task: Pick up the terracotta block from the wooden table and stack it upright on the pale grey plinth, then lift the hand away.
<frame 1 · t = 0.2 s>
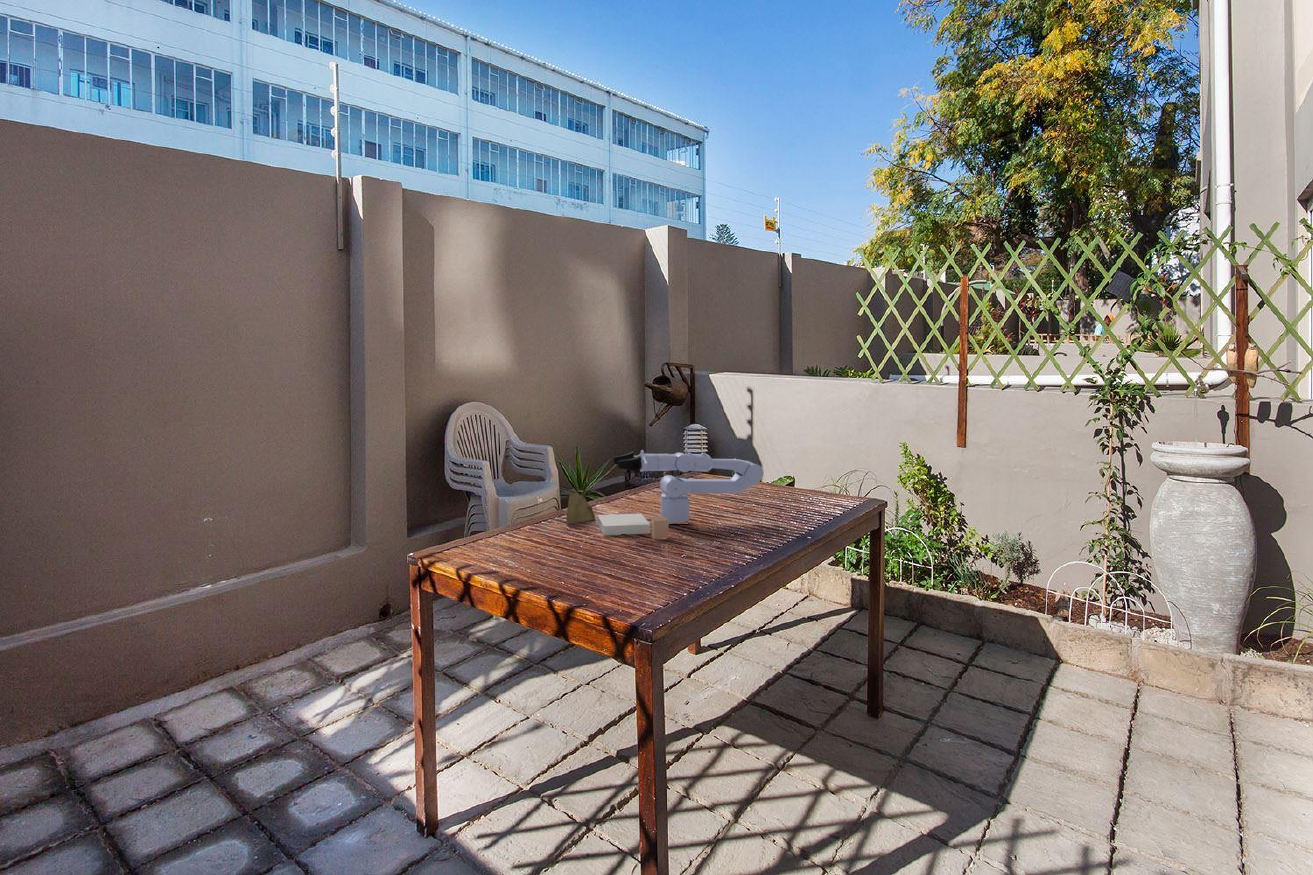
hand: (615, 462, 241), 21 cm above the table, tool horizontal, fingers open, 7 cm apart
base plinth: (623, 528, 240), on the table
rock: (580, 521, 249), on the table
terracotta block: (659, 537, 229), on the table
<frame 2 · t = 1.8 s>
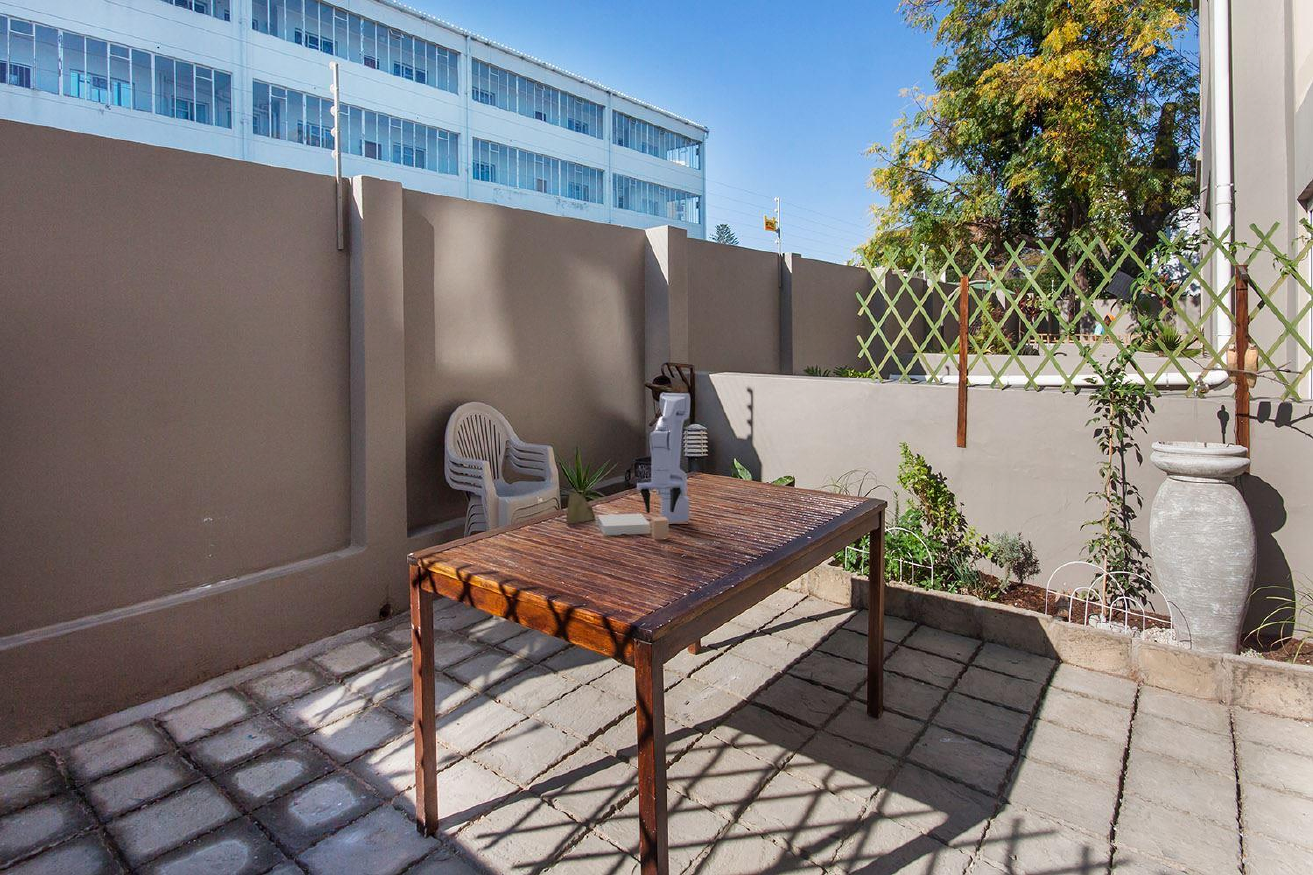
hand: (660, 512, 228), 8 cm above the table, tool pointing down, fingers open, 7 cm apart
nothing on the table moved.
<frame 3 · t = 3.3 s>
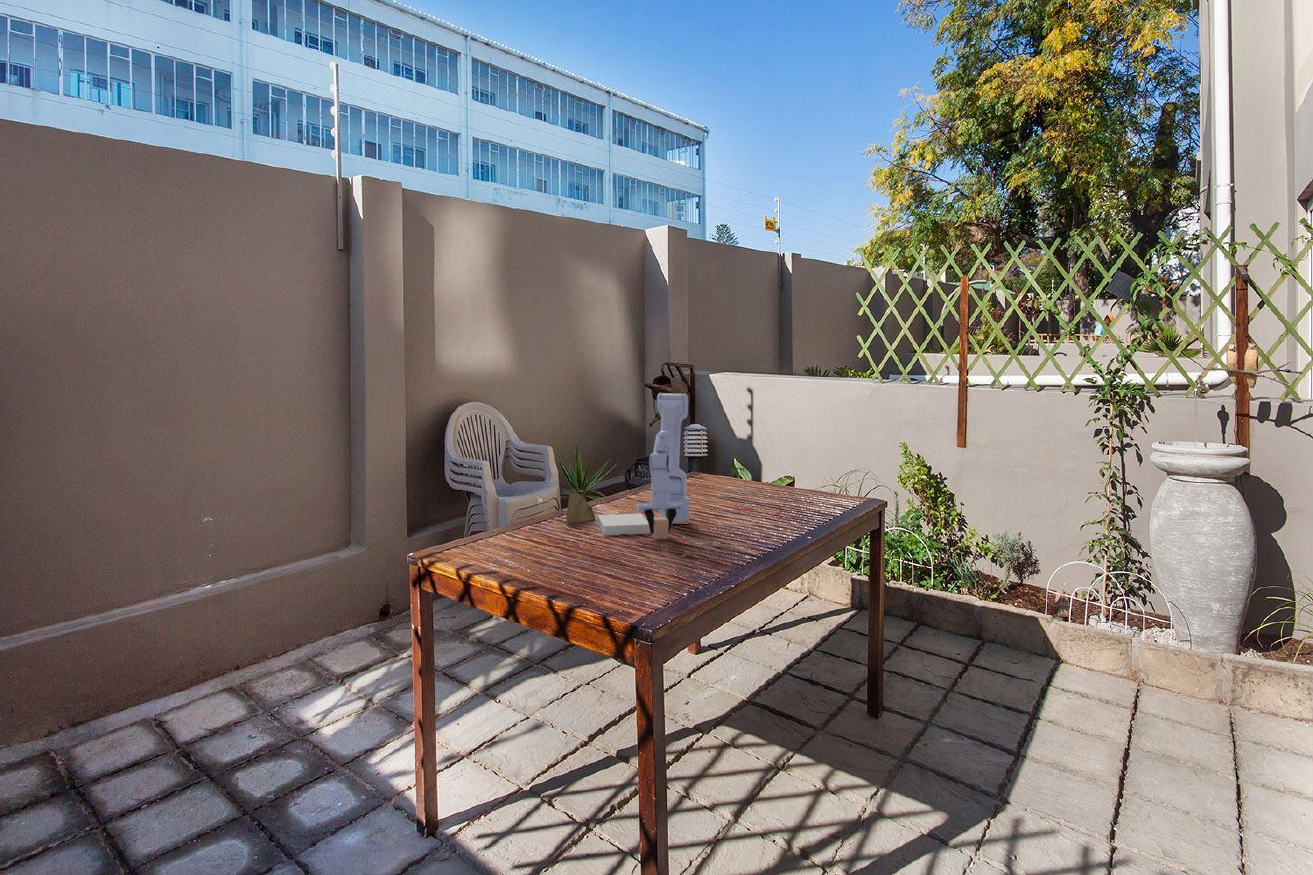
hand: (659, 532, 229), 1 cm above the table, tool pointing down, fingers closed on terracotta block, 4 cm apart
terracotta block: (659, 537, 229), on the table, touching gripper
everything else where it was.
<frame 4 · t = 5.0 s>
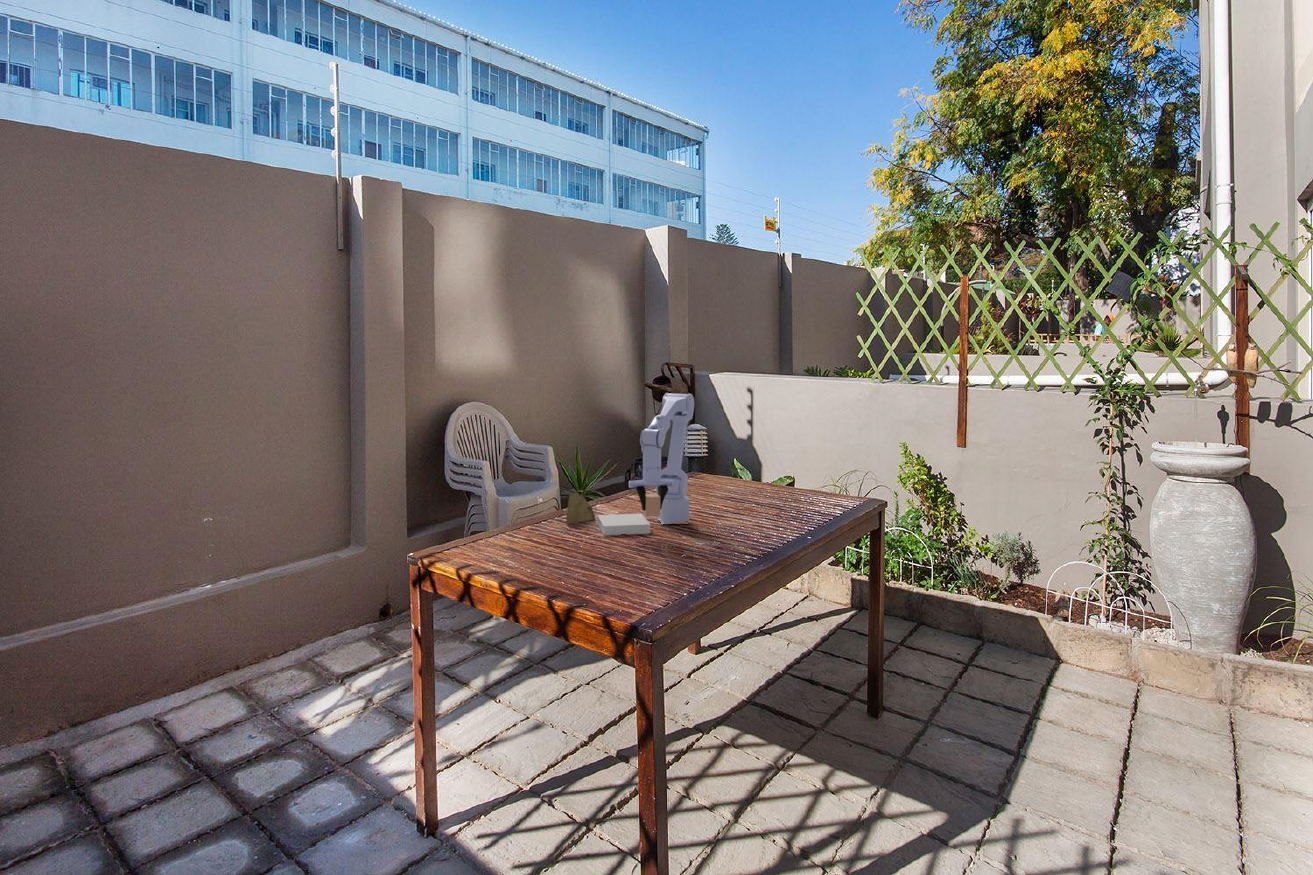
hand: (651, 509, 231), 8 cm above the table, tool pointing down, fingers closed on terracotta block, 4 cm apart
terracotta block: (651, 514, 231), point 7 cm above the table, touching gripper
everything else where it was.
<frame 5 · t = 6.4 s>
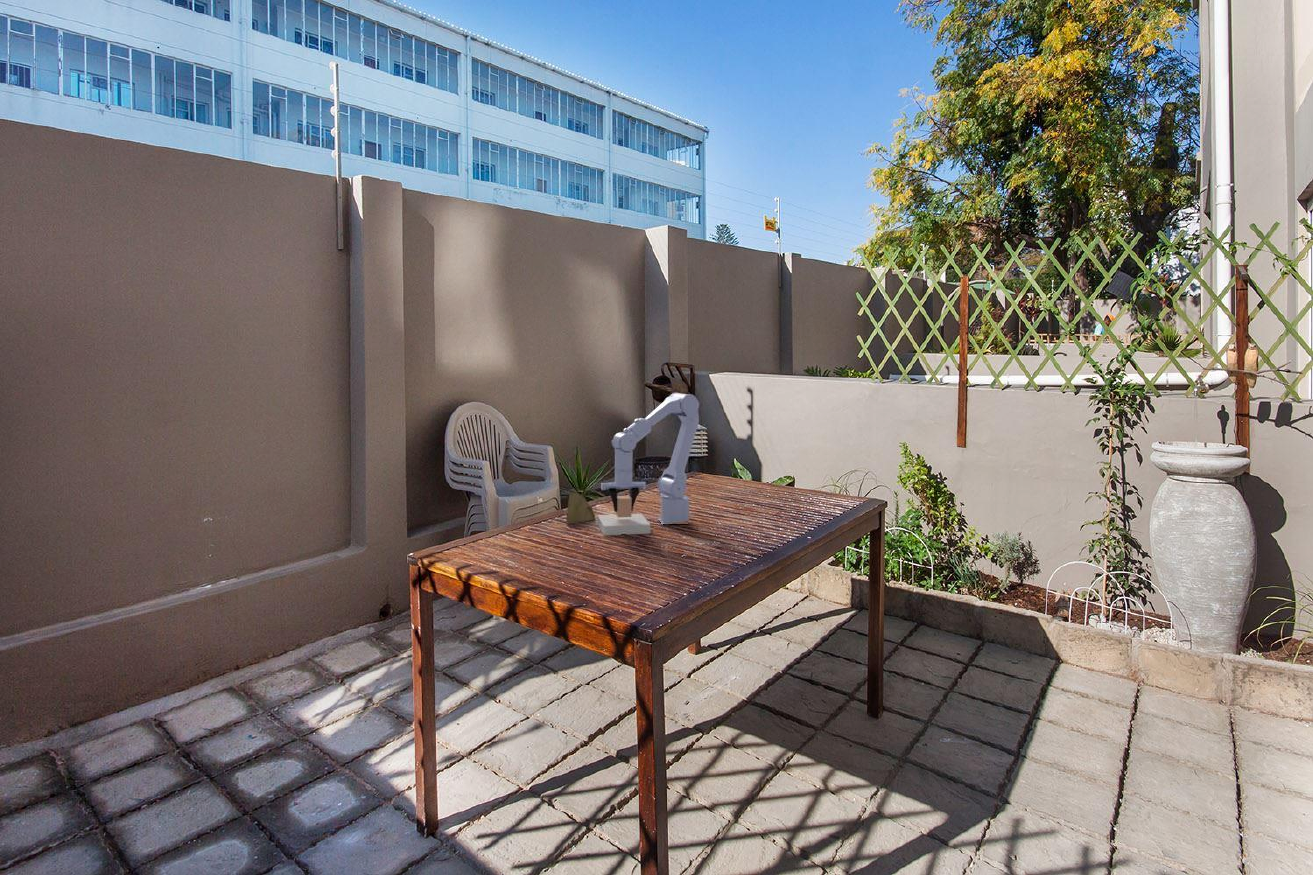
hand: (623, 510, 239), 6 cm above the table, tool pointing down, fingers closed on terracotta block, 4 cm apart
terracotta block: (623, 515, 239), point 4 cm above the table, touching gripper
everything else where it was.
when the fingers open (6 cm above the table, at t = 7.0 s): terracotta block drops 1 cm, resting on base plinth.
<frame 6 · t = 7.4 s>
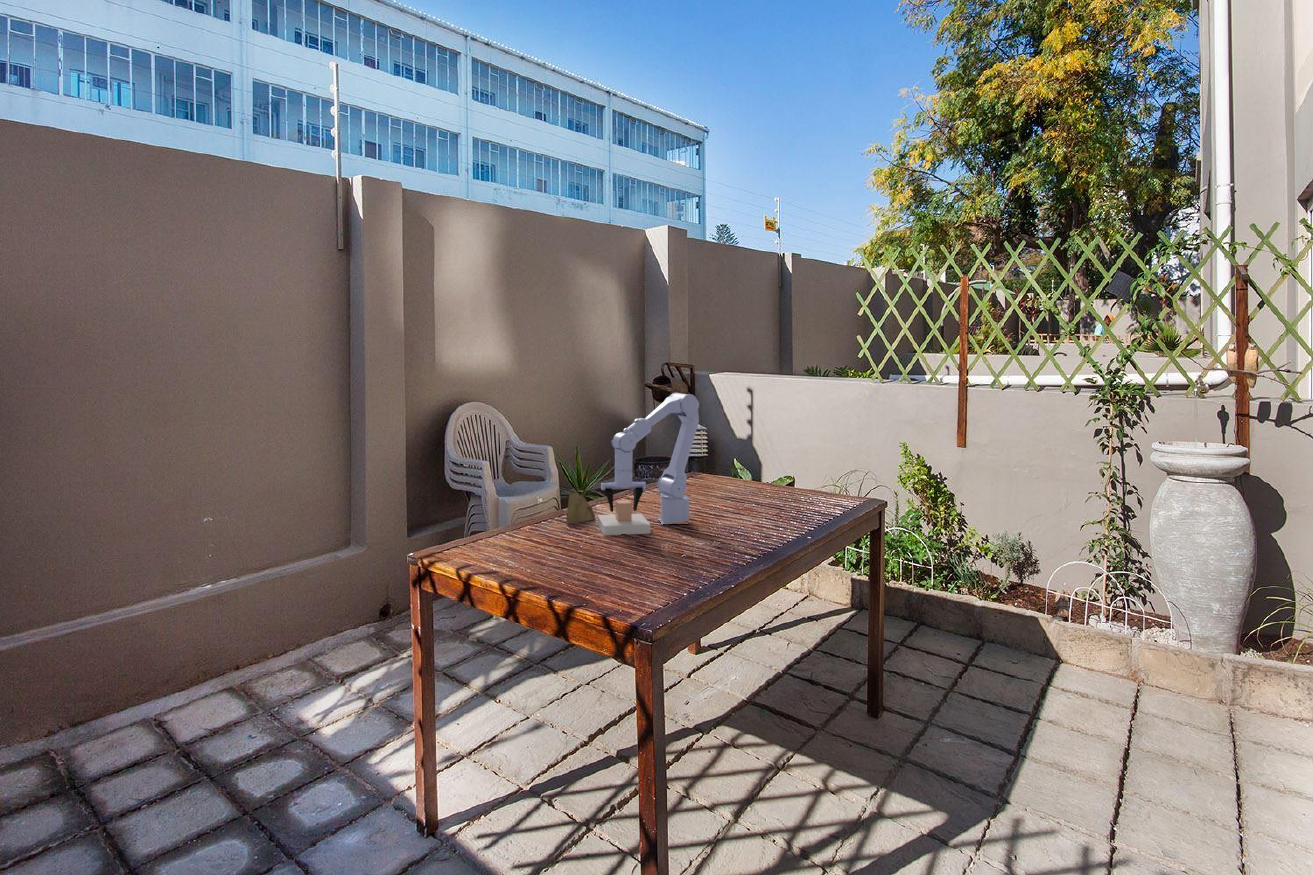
hand: (623, 510, 239), 6 cm above the table, tool pointing down, fingers open, 7 cm apart
terracotta block: (623, 519, 239), point 3 cm above the table, touching base plinth
everything else where it was.
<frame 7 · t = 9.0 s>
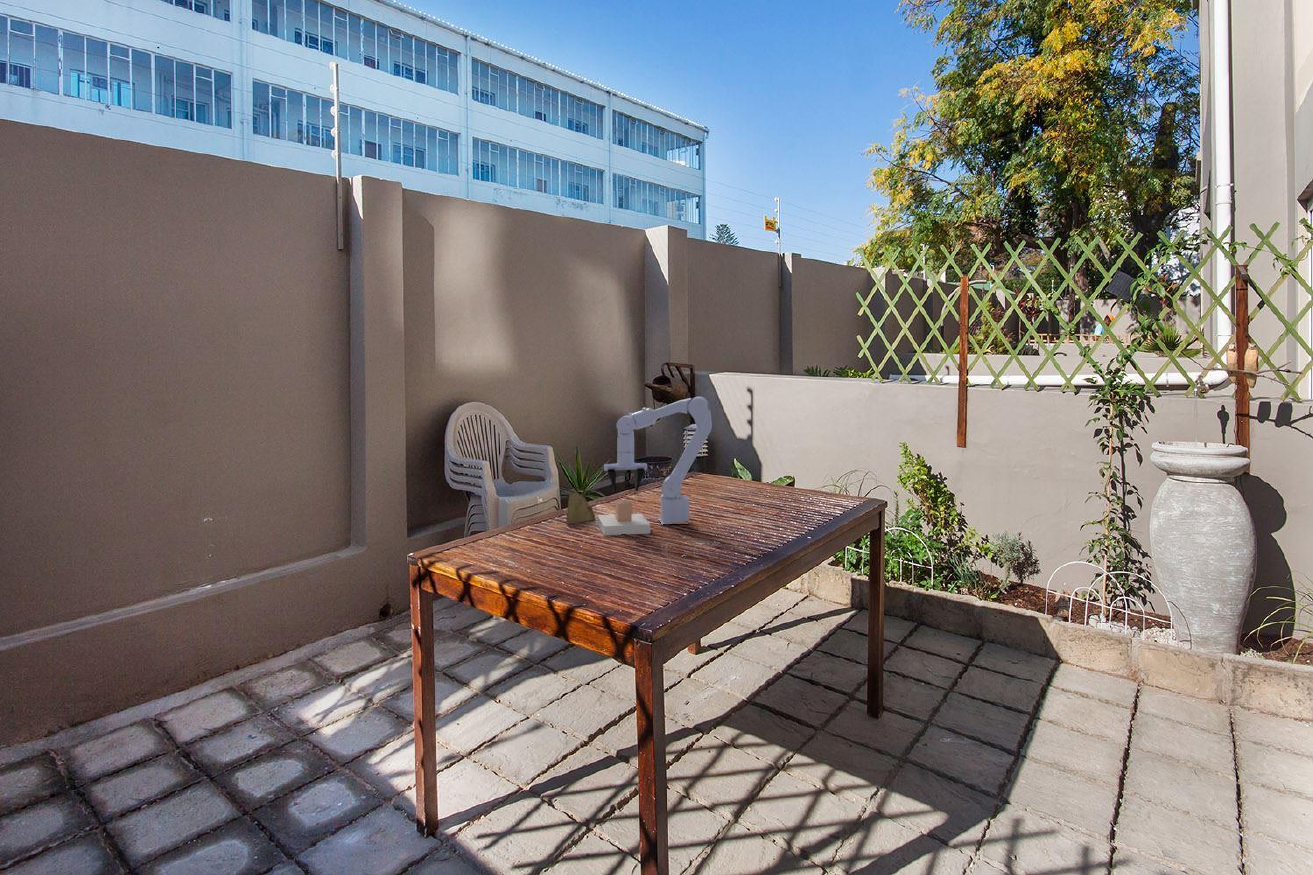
hand: (625, 490, 249), 10 cm above the table, tool pointing down, fingers open, 7 cm apart
nothing on the table moved.
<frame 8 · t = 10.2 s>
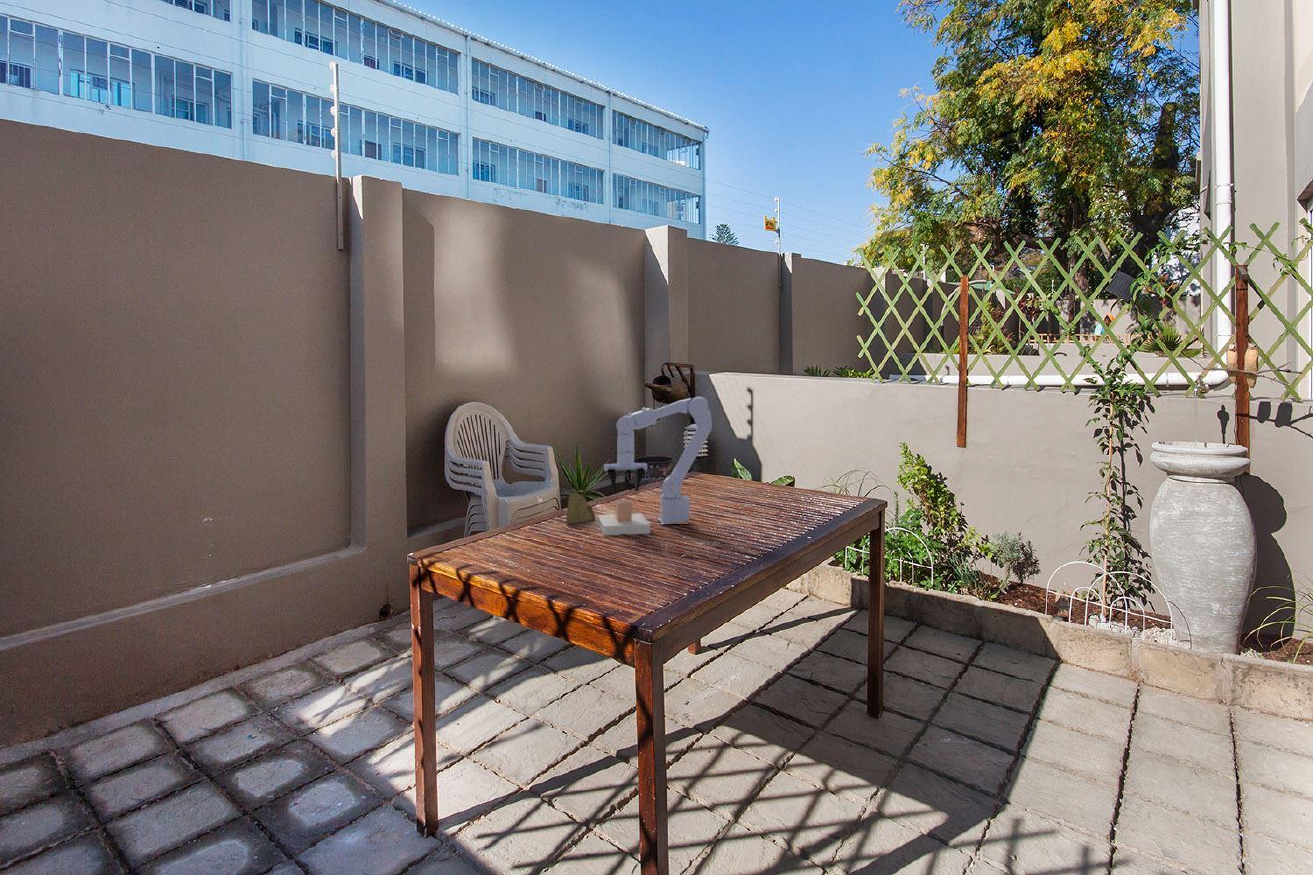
hand: (625, 490, 249), 10 cm above the table, tool pointing down, fingers open, 7 cm apart
nothing on the table moved.
at the end: terracotta block inside the target area on the base plinth (0.1 cm from its centre), point 3.0 cm above the base plinth's base; terracotta block tilted 0°; the gripper is holding nothing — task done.
